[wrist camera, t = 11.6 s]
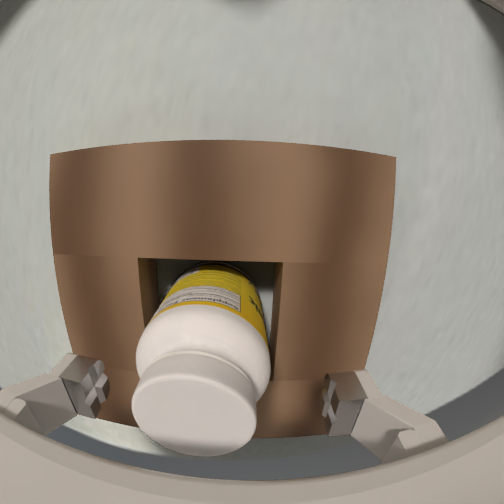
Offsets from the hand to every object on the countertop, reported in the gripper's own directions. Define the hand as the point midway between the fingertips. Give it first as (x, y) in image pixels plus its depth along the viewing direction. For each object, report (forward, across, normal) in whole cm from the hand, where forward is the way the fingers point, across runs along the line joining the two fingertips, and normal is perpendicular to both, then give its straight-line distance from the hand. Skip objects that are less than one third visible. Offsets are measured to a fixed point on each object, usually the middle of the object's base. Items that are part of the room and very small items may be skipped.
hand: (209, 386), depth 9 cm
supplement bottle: (+8, +1, 0) cm, 8 cm away
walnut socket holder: (+8, +1, 0) cm, 8 cm away
